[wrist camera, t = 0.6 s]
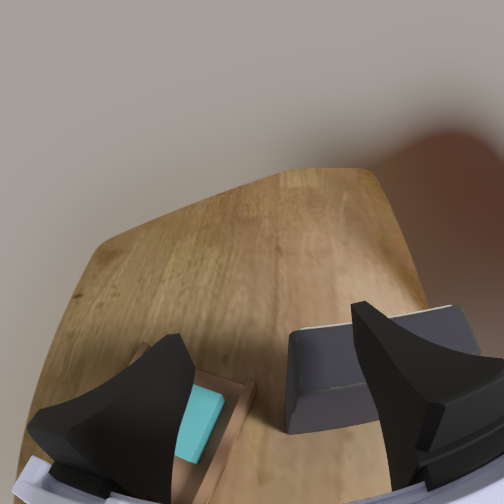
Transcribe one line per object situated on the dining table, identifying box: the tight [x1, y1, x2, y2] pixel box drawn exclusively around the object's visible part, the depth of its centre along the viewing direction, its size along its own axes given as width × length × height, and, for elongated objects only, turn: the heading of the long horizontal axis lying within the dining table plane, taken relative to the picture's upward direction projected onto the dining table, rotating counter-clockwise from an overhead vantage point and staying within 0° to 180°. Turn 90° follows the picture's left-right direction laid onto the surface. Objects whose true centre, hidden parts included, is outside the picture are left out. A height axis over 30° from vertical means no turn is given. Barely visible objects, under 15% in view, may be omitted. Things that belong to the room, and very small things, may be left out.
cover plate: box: [175, 384, 226, 464], centre depth 23 cm, size 7×8×2 cm
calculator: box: [285, 305, 481, 435], centre depth 18 cm, size 11×4×15 cm, turn 92°
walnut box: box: [128, 342, 257, 504], centre depth 22 cm, size 16×13×2 cm
